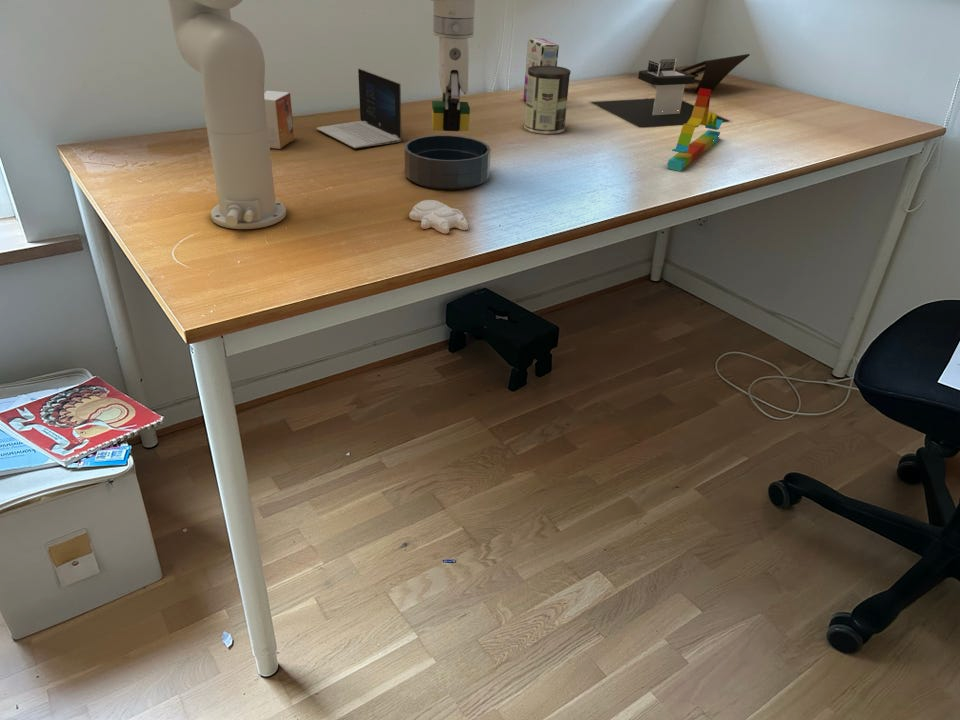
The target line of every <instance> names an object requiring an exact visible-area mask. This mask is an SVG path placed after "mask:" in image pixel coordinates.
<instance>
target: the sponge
mask: <svg viewBox="0 0 960 720" xmlns="http://www.w3.org/2000/svg"><path fill="white" fill-rule="evenodd" d="M444 109H445V101H442V100H432V101H431V126H432V131H437V132H438V131H439V132H441V131H444V130H443V113H444ZM470 114H471V107H470V105H469V102H468V101H460V130H459V131H458V132H470V118H471V117H470ZM444 132H445V131H444Z"/></svg>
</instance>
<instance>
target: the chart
mask: <svg viewBox="0 0 960 720" xmlns="http://www.w3.org/2000/svg"><path fill="white" fill-rule="evenodd" d="M711 95H712V89H704V88H699V92H697V95H696V99H695V102H694V109H693V112H692V115H691V118H690V119H689V121H688V122H687V123H686V124H682V128H681V131H680V134H679V136H678V140H677V143H676V147H675V148H671V151H672V152H676V154H675V155H674V156H672V157H671V158H669V159H668V162H667V164H666V165H667V169H669V170H673V171H678V172H681V171H682V170H683V169H685V168H686V167H687V166H688V165H690V164H691V163H693V161H695V159H697V158H698V157H700V156H701V155H702V154H703V153H705V152H706V151H708V149H709V148H711V147H712V146H713V145H714V144H715V143H717V142H718V141H719V139H720V136H719V135H720V134H721V131H718V130H720V128H721V125H722V124H723V123H724V121H723V120H718V119H717V116H718V114H717V113H713V112H711V111H710V102H711ZM699 126H705V129H708V130H707V131H705V132H704V133H702V134H701V135H700V136H699V137H697V138H696V139H694V140H693V141H692V138H693V135H694V131H695V129H696V128H699ZM718 136H719V137H718ZM713 140H714V141H713ZM691 141H692V142H691Z"/></svg>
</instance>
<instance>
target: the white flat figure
mask: <svg viewBox="0 0 960 720" xmlns="http://www.w3.org/2000/svg"><path fill="white" fill-rule="evenodd" d="M408 216H409V219H410V220H412V221H419V222H420V227H421V229H422V230H423V229H424V230H425V229H429V228H433V229H434V230H435V231H437V232H439V233H441V234H445V235H446V234H448V233H449V232H450V229H453V228H456V229H459V230H461V231H467V230H468V228H469V222H468V220H467V218H466V216H464V212H462V211H461V210H460V209H457V208H452V207H450V206H449V205H447V204H445V203H443V202H441V201H439V200H436V199H425V200H422V201H420V202H417V203H416V204H415V205H413V207H412V209H411V211H410V212H409V215H408Z"/></svg>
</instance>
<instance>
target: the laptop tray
mask: <svg viewBox="0 0 960 720" xmlns="http://www.w3.org/2000/svg"><path fill="white" fill-rule="evenodd" d="M748 57H750V53H746V54H739V55H734V56H728V57H721V58H714V59H707V60H703V61H700V62H697V63H695V64H693V65H689V66H688V67H685V68H682V69H679V70H680V71H683V72H686V73H688V74H691V75H694V76H695V78H698V77H699V75H701V74H702V77H701V80H700V82H699V83H698V85H697V87H696V88H695V90H694V92H695V93H698V92H699V88H704V89H710V90H714V89H715V88H716V87H717V86H718V85H719V84H720V83H721V82H722V81H723V80H724V79H725V77H727V76H728V74H729V73H730V72H732V71H733V70H734V69H735V68H736V67H737V66H738V65H740V64H741V63H742V62H743V61H745V60H746V59H747V58H748Z"/></svg>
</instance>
